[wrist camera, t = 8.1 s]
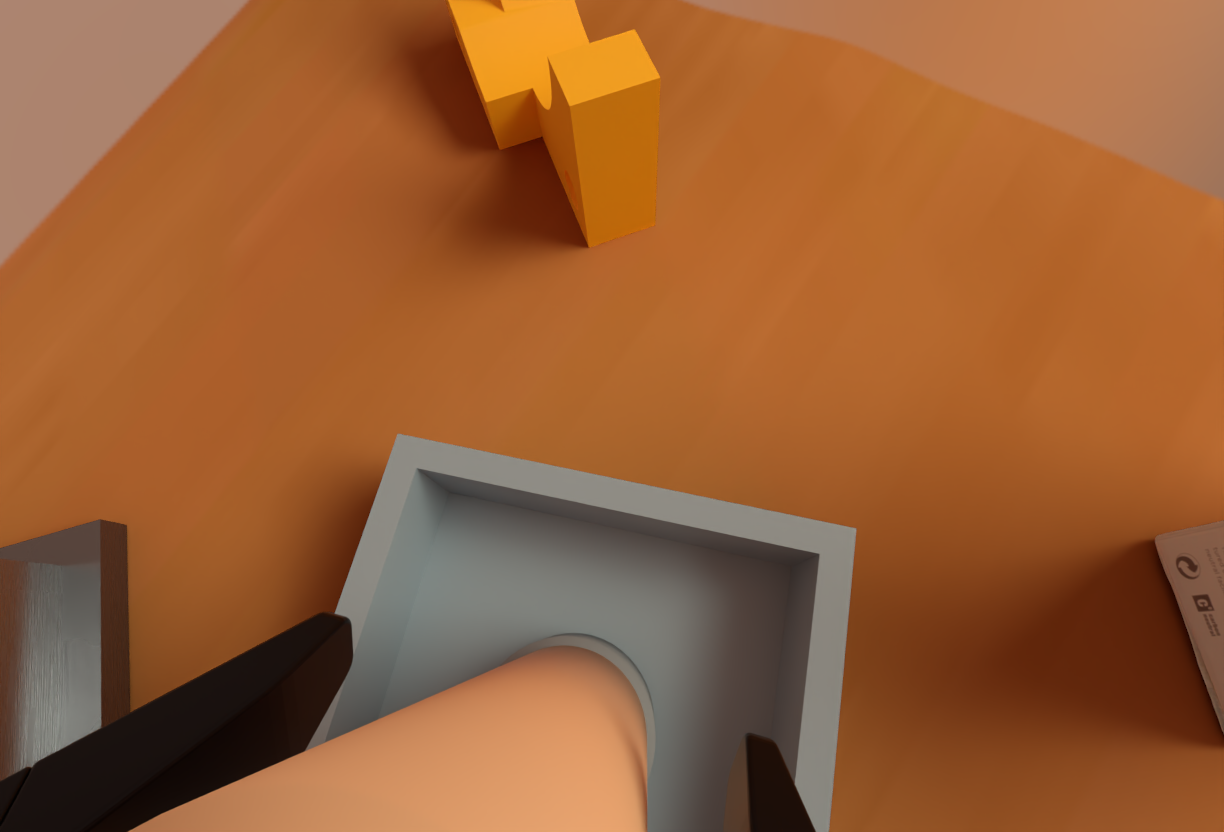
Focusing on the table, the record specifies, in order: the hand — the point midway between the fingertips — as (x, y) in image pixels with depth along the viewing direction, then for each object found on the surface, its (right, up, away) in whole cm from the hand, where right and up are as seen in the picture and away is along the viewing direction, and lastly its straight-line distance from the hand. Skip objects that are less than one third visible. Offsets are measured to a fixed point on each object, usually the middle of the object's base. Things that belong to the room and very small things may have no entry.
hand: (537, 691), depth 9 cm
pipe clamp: (-1, +15, +16) cm, 22 cm away
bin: (0, -4, +8) cm, 9 cm away
